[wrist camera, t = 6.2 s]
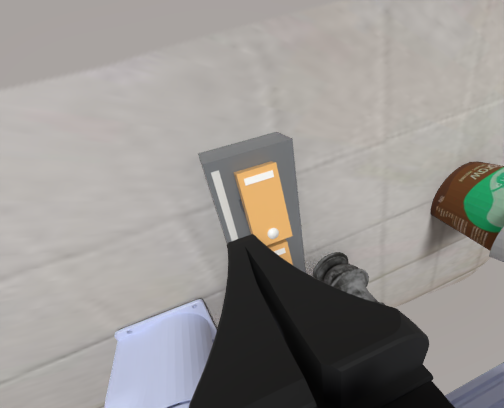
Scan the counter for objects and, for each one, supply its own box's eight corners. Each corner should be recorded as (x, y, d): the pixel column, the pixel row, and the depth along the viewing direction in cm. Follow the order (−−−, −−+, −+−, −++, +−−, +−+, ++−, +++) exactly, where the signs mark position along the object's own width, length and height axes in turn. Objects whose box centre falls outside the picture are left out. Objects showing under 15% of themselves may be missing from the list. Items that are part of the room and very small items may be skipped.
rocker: (253, 242, 19) (257, 249, 18) (233, 172, 17) (236, 174, 16) (286, 230, 19) (293, 236, 18) (270, 161, 18) (276, 162, 16)
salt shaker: (355, 265, 32) (441, 349, 22) (322, 291, 32) (391, 386, 22) (339, 242, 29) (431, 328, 19) (303, 271, 29) (373, 371, 19)
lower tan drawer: (267, 300, 23) (272, 309, 21) (252, 247, 21) (255, 253, 20) (295, 289, 23) (301, 297, 22) (282, 236, 21) (287, 241, 20)
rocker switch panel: (249, 313, 30) (258, 339, 27) (198, 153, 19) (203, 167, 16) (298, 293, 31) (312, 316, 28) (276, 131, 20) (295, 140, 17)
